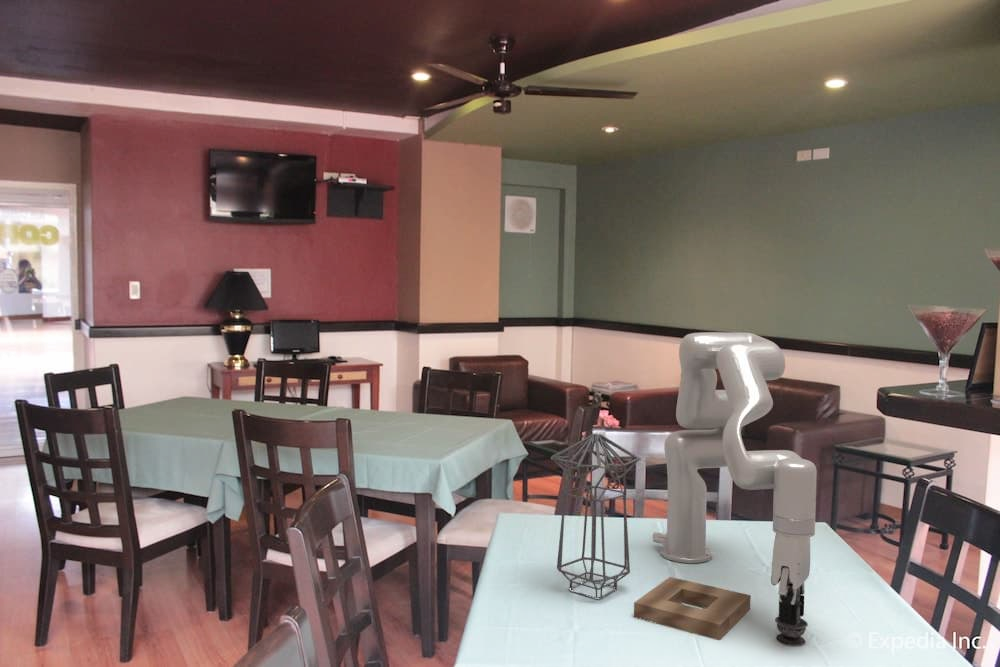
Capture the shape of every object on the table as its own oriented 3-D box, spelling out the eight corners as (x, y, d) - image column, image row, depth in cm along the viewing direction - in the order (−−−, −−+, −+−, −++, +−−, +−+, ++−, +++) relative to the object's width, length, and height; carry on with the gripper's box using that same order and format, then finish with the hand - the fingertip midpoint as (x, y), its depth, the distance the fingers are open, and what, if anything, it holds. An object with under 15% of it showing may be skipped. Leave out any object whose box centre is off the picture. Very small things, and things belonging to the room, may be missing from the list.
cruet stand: (633, 617, 162) (634, 602, 162) (669, 590, 177) (669, 576, 177) (719, 639, 152) (720, 624, 152) (750, 609, 166) (750, 595, 166)
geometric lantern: (544, 590, 176) (546, 433, 175) (586, 573, 188) (588, 426, 187) (602, 609, 166) (604, 442, 165) (643, 590, 177) (646, 434, 176)
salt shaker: (769, 633, 155) (770, 573, 154) (798, 632, 155) (800, 572, 154) (782, 647, 149) (784, 584, 148) (812, 646, 149) (814, 583, 149)
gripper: (786, 511, 160) (783, 600, 161) (760, 531, 146) (757, 629, 147) (825, 517, 155) (822, 609, 156) (802, 539, 142) (799, 639, 143)
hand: (791, 617), depth 152 cm, fingers closed on salt shaker, 4 cm apart
